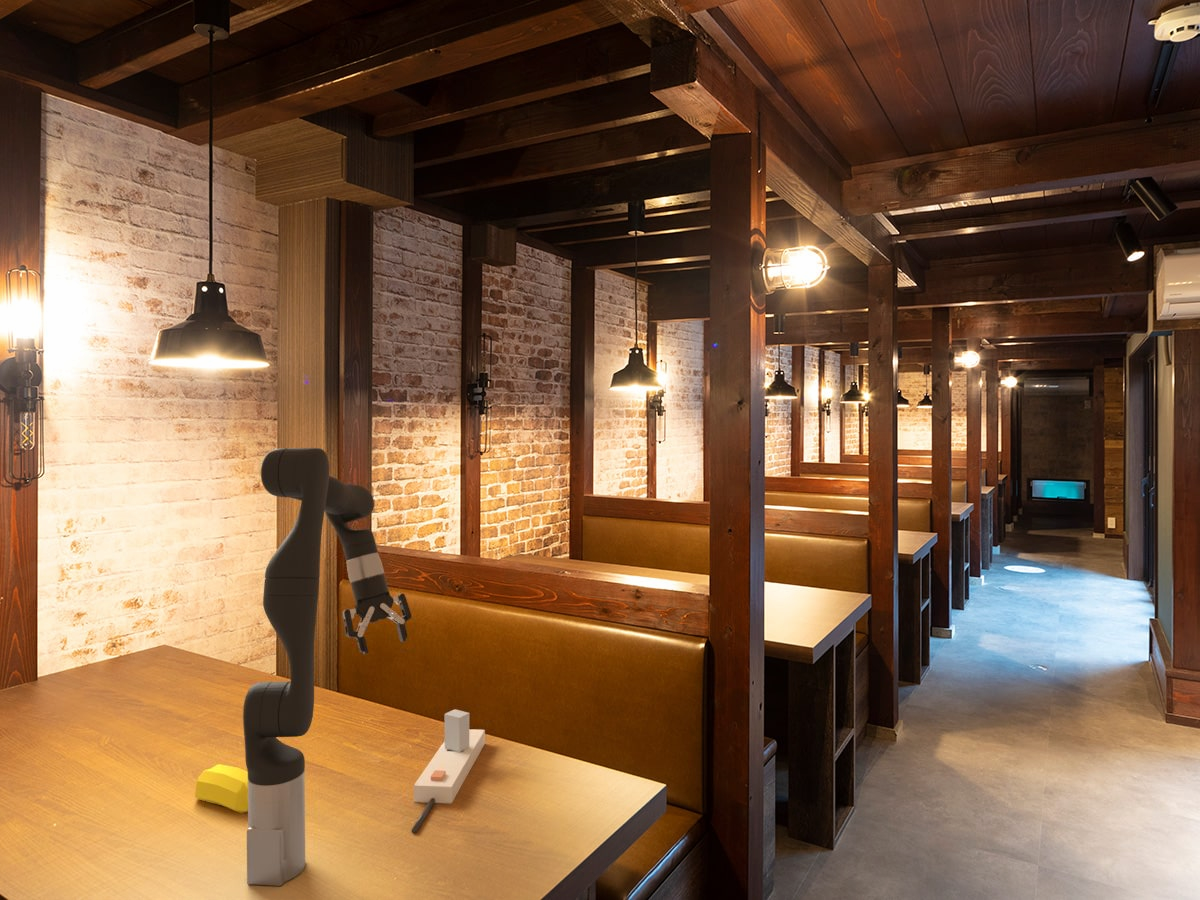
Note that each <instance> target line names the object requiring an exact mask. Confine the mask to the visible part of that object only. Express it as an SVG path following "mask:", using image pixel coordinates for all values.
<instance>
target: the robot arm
mask: <svg viewBox="0 0 1200 900" xmlns="http://www.w3.org/2000/svg"><path fill="white" fill-rule="evenodd" d="M260 480H261V484H262V486H263V488H264V489H265V490H266V491H267V492H268V493H269V494H270V495H272V496H274V497H278V498H290V499H294V500H298V501H300V502H301V503H300V508H299V510H298V515H297V519H296V520H295V522H294V524H293V526H292V529H291V530H290V532H289V533H288V535H287V536H286V537H285V539H284V540H283V541H282V542H281V544H280V545H279V547H278V548H277V550H276V551H274V552H275V553H274V554H273V555H272V557H271V558H270V560H269V562H268V563H267V564H266V565H267V566H266V568H265V573H264V582H263V583H264V584H263V585H264V587H263V597H262V604H263V605H262V607H263V610H264V613H265V615H266V617H267V619H268V621H269V623H270V625H271V627H272V629H274V632H275V633H276V635H277V637H278V638H279V640H280V642H281V643H282V645H283V648H284V649H285V653H286V656H287V658H288V662H289V663H288V665H289V669H290V670H289V671H290V681H262V682H257V683H254V684H252V685H251V686H250V688H249V689H248V690H247V693H246V694H245V699H244V703H243V707H242V708H243V709H242V711H243V713H242V720H243V721H242V723H243V724H242V725H243V726H242V727H243V737H244V751H245V753H244V754H245V755H244V756H245V766H246V771H248V811H247V824H248V825H247V830H246V883H247V884H248V885H256V886H257V885H259V886H260V885H261V886H276V887H277V886H280V887H281V886H283V885H284V883H286V882H288V881H290V880H292V879H294V878H296V877H297V876H299V875H300V874H301V873H302V872H303V871H304V869H305V867H306V788H305V787H306V778H305V777H306V775H305V773H306V770H305V767H306V765H305V764H306V763H305V755H304V753H303V751H301V750H300V749H298V748H296V747H293V746H290V745H288V744H286V743H283V741H281V740H279V739H278V738H296V737H303V736H305V735H306V734H307V733H308V731H309V730H310V728H311V725H312V721H313V717H314V709H315V707H314V706H315V639H316V638H315V636H316V624H317V614H318V613H317V611H318V603H319V594H320V593H319V589H320V571H321V568H320V567H321V547H322V546H321V545H322V536H323V535H322V533H323V524H324V518H325V515H326V517H327V519H328V521H329V522H330V524H331V526H332V527H333V530H334V531H335V532H336V534H337V537H338V539H339V541H340V543H341V546H342V549H343V554H344V557H345V561H346V568H347V569H346V570H347V575H348V580H349V583H350V587H351V591H352V594H353V599H354V603H355V606H354V608H351V609H344V610H342V612H341V614H342V619H343V626H344V630H345V635H346V637H347V638H353V639H354V638H355V639H356V640H355V641H356V643H357V647H358V651H359V652H360V653H362V654H363V655H367V654H369V650H368V645H367V641H366V637H365V636H364V634H365V631H366V629H367V628H368V625H369V623H370V624H371V623H376V622H377V621H380V620H385V619H389V620H391V621H393V622H394V623H395V624H396V629H397V635H398V637H399V641H400V643H405V642H406V641H407V638H408V632H407V627H406V623H407V621H409V620H410V619H412V612H411V609H410V607H409V604H408V599H407V597H406V595H405V593H399V594H397V595H395V596H393V597H392V595H391V594H390V589H389V586H388V582H387V578H386V574H385V570H384V566H383V563H382V562H383V561H382V560H381V558H380V555H379V553H378V552H379V551H378V547H377V544H376V543H377V542H376V540H375V536H374V533H373V531H372V530H371V529H369V528H363V529H362V528H360V529H352V528H351V527H350V526H349V525H348V523H350V522H354V521H358V520H362V519H364V518H367V517H369V516H370V515H371V514H372V513H373V511H374V508H375V500H374V497H373V494H371V491H369V490H368V489H367V488H366V487H364V486H361V485H359V484H358V485H357V484H352V483H344V481H341V480H340V479H338V478H337V477H334V476H330V462H329V458H328V454H327V453H326V451H325V450H324V449H322V448H320V447H319V448H318V447H282V448H274V449H272V450H270V451H269V452H267V453H266V454H265V455H264V457H263V459H262V462H261V466H260ZM394 603H395V604H396V605H398V606H399V608H400V612H401V615H402V616H400V615H399V614H398V613H397V612H396V611H394V610H393V609H392V607H393V604H394ZM355 614H356V615H357V616H359V617H360V620H359V622H358V627H357V629H356V631H354V626H353V619H354V618H355Z"/></svg>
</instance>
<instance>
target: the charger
mask: <svg viewBox="0 0 1200 900" xmlns="http://www.w3.org/2000/svg"><path fill="white" fill-rule="evenodd" d="M469 729H470V712H467V711H463V710H459V709H453V710H450V711H448V712H445V713H444V741H445V748H446V749H449V750H451V751H454V752H463V750H465V749H466V748H468V747H469Z"/></svg>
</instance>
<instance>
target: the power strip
mask: <svg viewBox="0 0 1200 900" xmlns="http://www.w3.org/2000/svg"><path fill="white" fill-rule="evenodd" d="M485 738H486V730H485V729H472V728H471V729H470V728H469V747H468V748H466V749H465V750H463V752H454V751H451V750H449V749H446V748H445V740H444V741H443V743H442V744H441V745H440V747H439V748H438V750H437V751H436V752H435V754H434V756H433V757H432V759H430V762H429V763H428V764H427V765H426V767H425V768H424V770H423V771H422V773H421V774H420V776H419V777H418V779H416V781H415V782H414V785H413V802H414V803H427V804H426V806H425V807H424V809H423V811H422V812H421V814H420V816H419V817H418V818H417V821H416V822H415V824H414V825H413V827H412V828H411V833H412V834H416V833H417V832H418V830H419V829H420V827H421V825H422V824H423V822H424V820H425V819H426V817H427V815H428V813H429V812H430V810H431V809H432V807H433V805H434V804H453V802H454V800H455V798H456V796H457V795H458V793H459V792H460V789H461V787H462V786H463V783H465V781H466V778H467V776H468V775H469V773H470V771H471V769H472V767H473V766H474V764H475V762H476V760H477V759H478V757H479V755H480V753H481V752H482V750H483V747H484V746H485V744H486V739H485Z"/></svg>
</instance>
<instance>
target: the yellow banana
mask: <svg viewBox="0 0 1200 900" xmlns="http://www.w3.org/2000/svg"><path fill="white" fill-rule="evenodd" d="M194 797H195V798H196V799H198V800H200V801H201V800H202V802H205V801H206V802H207V803H209V802H210V803H209V804H214V805H215V804H216V805H219V806H223V807H224V808H227V809H229V810H231V811H235V812H236V811H237V813H239V814H245V813H248V771H247V770H245V769H242V768H240V767H238V766H237V767H236V766H232V765H231V766H230V765H225V764H221V763H220V764H219V763H218V764H215V765H214V766H213V767H211V768H207V769H204V770H203V771H202V772H201V774H200V775H199V777H198V779H197V780H196V786H195V793H194Z"/></svg>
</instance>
